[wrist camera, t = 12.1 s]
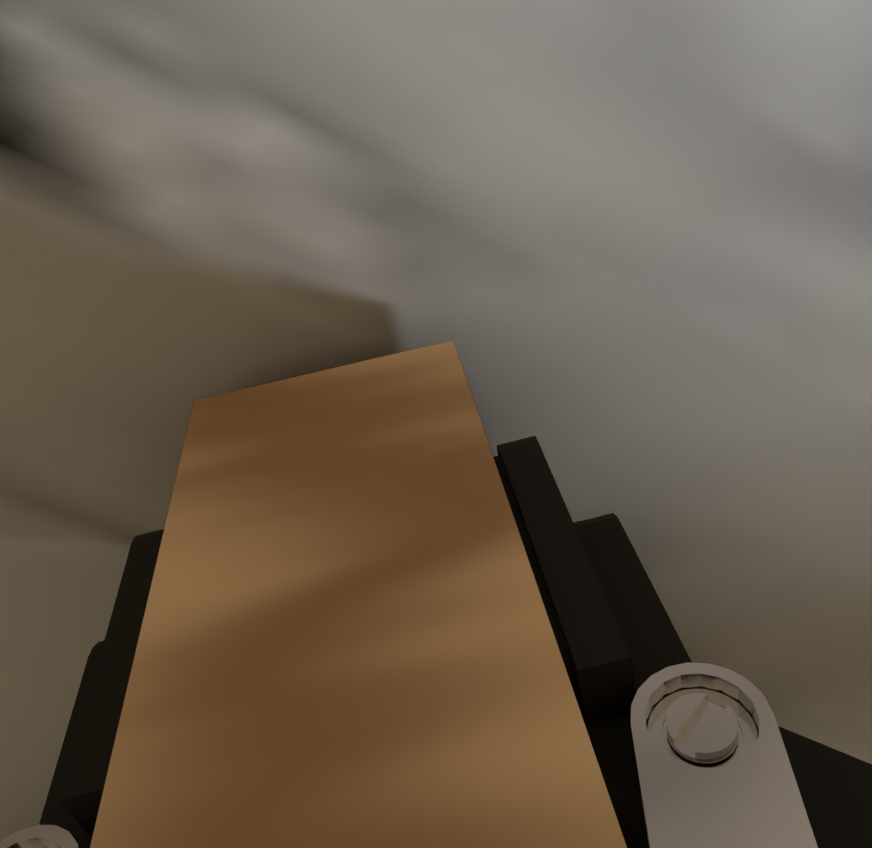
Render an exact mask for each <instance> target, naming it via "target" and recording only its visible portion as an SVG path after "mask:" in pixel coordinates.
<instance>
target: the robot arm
mask: <svg viewBox="0 0 872 848" xmlns="http://www.w3.org/2000/svg"><path fill="white" fill-rule="evenodd" d="M497 451H498V456H495V457H493V458H494V461H495V464H496V467H497V470H498V473H499V475H500V478H501V481H502V484H503V487H504V490H505V493H506V496H507V499H508V502H509V505H510V508H511V510H512V513H513V516H514V519H515V522H516V525H517V528H518V531H519V534H520V537H521V540H522V543H523V546H524V548H525V551H526V554H527V557H528V560H529V563H530V566H531V569H532V572H533V575H534V578H535V581H536V583H537V586H538V589H539V592H540V595H541V598H542V601H543V604H544V607H545V610H546V613H547V616H548V618H549V621H550V624H551V627H552V630H553V633H554V636H555V639H556V642H557V645H558V648H559V651H560V654H561V656H562V659H563V662H564V665H565V668H566V671H567V674H568V677H569V680H570V683H571V686H572V689H573V691H574V694H575V697H576V700H577V703H578V706H579V709H580V712H581V715H582V718H583V721H584V724H585V726H586V729H587V732H588V735H589V738H590V741H591V744H592V747H593V750H594V753H595V756H596V759H597V762H598V764H599V767H600V770H601V773H602V776H603V779H604V782H605V785H606V788H607V791H608V794H609V797H610V799H611V802H612V805H613V808H614V811H615V814H616V817H617V820H618V823H619V826H620V829H621V832H622V835H623V837H624V840H625V843H626V846H627V848H872V765H871V764H869V763H866V762H864V761H862V760H859V759H857V758H854V757H852V756H849V755H847V754H845V753H842V752H840V751H837V750H835V749H832V748H830V747H827V746H825V745H823V744H820V743H818V742H815V741H813V740H810V739H808V738H805V737H803V736H801V735H798V734H796V733H793V732H791V731H788V730H786V729H783V728H781V727H779V726H778V724H777V721H776V718H775V715H774V712H773V711H772V709H771V707H770V705H769V703H768V701H767V699H766V697H765V695H764V694H763V693H762V692H761V691H760V690H759V689H758V688H757V687H756V686H755V685H754V684H753V683H752V682H751V681H750V680H748V679H746V678H745V677H743V676H741V675H739V674H738V673H736V672H734V671H732V670H731V669H728V668H724V667H721V666H717V665H714V664H710V663H692V662H691V660H690V658H689V656H688V654H687V652H686V650H685V648H684V646H683V644H682V642H681V640H680V638H679V636H678V634H677V632H676V630H675V628H674V626H673V625H672V623H671V621H670V619H669V617H668V615H667V613H666V611H665V609H664V607H663V605H662V603H661V601H660V599H659V597H658V595H657V593H656V591H655V589H654V587H653V585H652V583H651V581H650V580H649V578H648V576H647V574H646V572H645V570H644V568H643V566H642V564H641V562H640V560H639V558H638V556H637V554H636V552H635V550H634V548H633V546H632V544H631V542H630V540H629V538H628V536H627V534H626V533H625V531H624V529H623V527H622V525H621V523H620V521H619V520H618V518H617V516H616V515H614V514H613V513H612V514H608V515H604V516H600V517H596V518H592V519H588V520H584V521H580V522H576V523H573V521H572V519H571V517H570V514H569V512H568V510H567V507H566V505H565V503H564V501H563V498H562V496H561V494H560V491H559V489H558V487H557V484H556V482H555V480H554V477H553V475H552V473H551V471H550V468H549V466H548V464H547V461H546V459H545V457H544V454H543V452H542V450H541V447H540V445H539V443H538V441H537V439H536V437H535V436H533V437H529V438H525V439H521V440H517V441H513V442H509V443H505V444H501V445H497ZM163 532H164V529H162V530H158V531H154V532H150V533H146V534H142V535H138V536H136V537H135V538H134V539H133V541H132V544H131V547H130V551H129V554H128V558H127V562H126V565H125V569H124V572H123V576H122V580H121V583H120V587H119V591H118V594H117V598H116V601H115V605H114V609H113V612H112V616H111V619H110V623H109V627H108V630H107V634H106V637H105V641H101V642H98V643H97V644H96V645H95V646H94V647H93V648H92V650H91V652H90V655H89V657H88V660H87V664H86V667H85V670H84V674H83V677H82V681H81V684H80V687H79V691H78V694H77V698H76V701H75V705H74V708H73V711H72V715H71V718H70V722H69V725H68V728H67V732H66V735H65V739H64V742H63V746H62V749H61V752H60V756H59V759H58V763H57V766H56V769H55V773H54V776H53V780H52V783H51V786H50V790H49V793H48V797H47V800H46V804H45V807H44V810H43V814H42V817H41V821H40V824H39V825H35V826H32V827H28V828H25V829H21V830H18V831H16V832H14V833H12V834H11V835H9V836H7V837H5V838H3V839H1V840H0V848H90V845H91V841H92V837H93V832H94V828H95V824H96V820H97V815H98V811H99V807H100V802H101V798H102V794H103V790H104V785H105V781H106V777H107V772H108V768H109V764H110V760H111V755H112V751H113V747H114V742H115V738H116V734H117V729H118V725H119V721H120V717H121V712H122V708H123V704H124V699H125V695H126V691H127V687H128V682H129V678H130V674H131V669H132V665H133V661H134V657H135V652H136V648H137V644H138V639H139V635H140V631H141V627H142V622H143V618H144V614H145V609H146V605H147V601H148V597H149V592H150V588H151V584H152V579H153V575H154V571H155V566H156V562H157V558H158V554H159V549H160V545H161V541H162V536H163Z"/></svg>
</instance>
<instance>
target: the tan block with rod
mask: <svg viewBox="0 0 872 848" xmlns="http://www.w3.org/2000/svg"><path fill="white" fill-rule="evenodd" d="M90 848H627V846H626V843H625V840H624V837H623V835H622V832H621V829H620V826H619V823H618V820H617V817H616V814H615V811H614V808H613V805H612V802H611V799H610V797H609V794H608V791H607V788H606V785H605V782H604V779H603V776H602V773H601V770H600V767H599V764H598V762H597V759H596V756H595V753H594V750H593V747H592V744H591V741H590V738H589V735H588V732H587V729H586V726H585V724H584V721H583V718H582V715H581V712H580V709H579V706H578V703H577V700H576V697H575V694H574V691H573V689H572V686H571V683H570V680H569V677H568V674H567V671H566V668H565V665H564V662H563V659H562V656H561V654H560V651H559V648H558V645H557V642H556V639H555V636H554V633H553V630H552V627H551V624H550V621H549V618H548V616H547V613H546V610H545V607H544V604H543V601H542V598H541V595H540V592H539V589H538V586H537V583H536V581H535V578H534V575H533V572H532V569H531V566H530V563H529V560H528V557H527V554H526V551H525V548H524V546H523V543H522V540H521V537H520V534H519V531H518V528H517V525H516V522H515V519H514V516H513V513H512V510H511V508H510V505H509V502H508V499H507V496H506V493H505V490H504V487H503V484H502V481H501V478H500V475H499V473H498V470H497V467H496V464H495V461H494V458H493V455H492V452H491V449H490V446H489V443H488V440H487V437H486V435H485V432H484V429H483V426H482V423H481V420H480V417H479V414H478V411H477V408H476V405H475V402H474V400H473V397H472V394H471V391H470V388H469V385H468V382H467V379H466V376H465V373H464V370H463V367H462V365H461V362H460V359H459V356H458V353H457V350H456V347H455V344H454V341H453V340H452V341H447V342H443V343H439V344H435V345H430V346H426V347H422V348H417V349H413V350H409V351H404V352H400V353H396V354H391V355H387V356H383V357H378V358H374V359H370V360H365V361H361V362H357V363H353V364H348V365H344V366H340V367H335V368H331V369H327V370H322V371H318V372H314V373H309V374H305V375H301V376H296V377H292V378H288V379H283V380H279V381H275V382H270V383H266V384H262V385H258V386H253V387H249V388H245V389H240V390H236V391H232V392H227V393H223V394H219V395H214V396H210V397H206V398H201V399H197V400H194V403H193V408H192V412H191V416H190V421H189V425H188V429H187V433H186V438H185V442H184V446H183V451H182V455H181V459H180V464H179V468H178V472H177V476H176V481H175V485H174V489H173V494H172V498H171V502H170V506H169V511H168V515H167V519H166V524H165V528H164V532H163V536H162V541H161V545H160V549H159V554H158V558H157V562H156V566H155V571H154V575H153V579H152V584H151V588H150V592H149V597H148V601H147V605H146V609H145V614H144V618H143V622H142V627H141V631H140V635H139V639H138V644H137V648H136V652H135V657H134V661H133V665H132V669H131V674H130V678H129V682H128V687H127V691H126V695H125V699H124V704H123V708H122V712H121V717H120V721H119V725H118V729H117V734H116V738H115V742H114V747H113V751H112V755H111V760H110V764H109V768H108V772H107V777H106V781H105V785H104V790H103V794H102V798H101V802H100V807H99V811H98V815H97V820H96V824H95V828H94V832H93V837H92V841H91V845H90Z"/></svg>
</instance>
